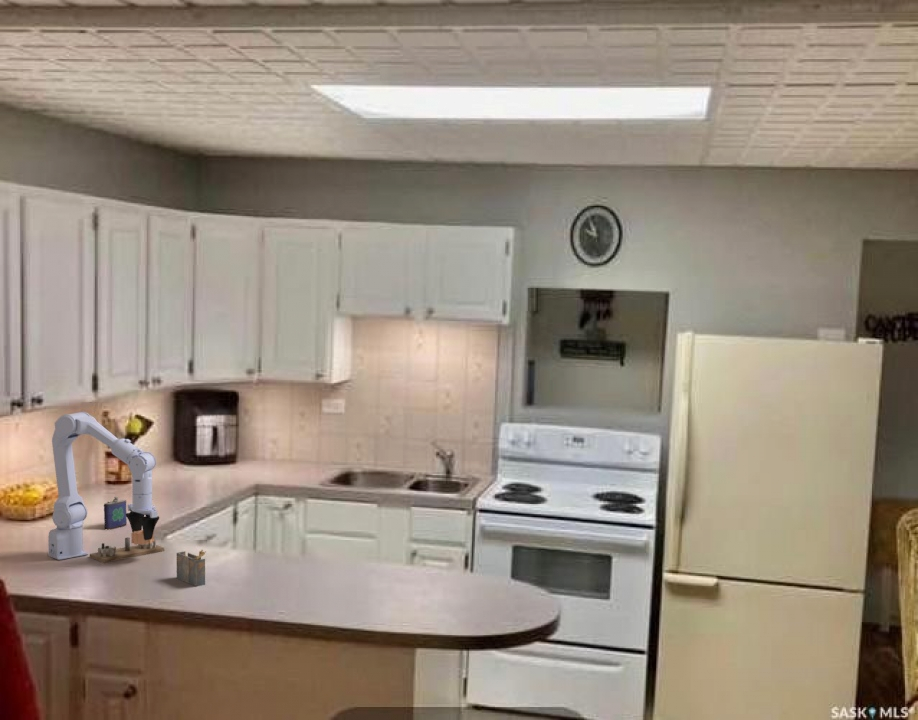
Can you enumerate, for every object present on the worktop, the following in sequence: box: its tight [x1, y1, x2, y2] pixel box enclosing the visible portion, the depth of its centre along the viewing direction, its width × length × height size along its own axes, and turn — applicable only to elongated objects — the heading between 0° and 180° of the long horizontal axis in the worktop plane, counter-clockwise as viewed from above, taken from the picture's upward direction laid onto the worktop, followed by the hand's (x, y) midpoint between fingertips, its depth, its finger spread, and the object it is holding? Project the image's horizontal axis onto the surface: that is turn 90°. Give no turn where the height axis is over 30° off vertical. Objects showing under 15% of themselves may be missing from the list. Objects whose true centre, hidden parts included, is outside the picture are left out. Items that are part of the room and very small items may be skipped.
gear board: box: [89, 537, 165, 563], centre depth 294 cm, size 20×9×5 cm, turn 137°
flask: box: [103, 496, 128, 531], centre depth 330 cm, size 9×3×11 cm, turn 152°
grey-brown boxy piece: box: [176, 549, 207, 587], centre depth 266 cm, size 11×3×10 cm, turn 44°
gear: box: [130, 529, 155, 546], centre depth 288 cm, size 6×6×3 cm
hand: (142, 537), depth 288 cm, fingers closed on gear, 6 cm apart
